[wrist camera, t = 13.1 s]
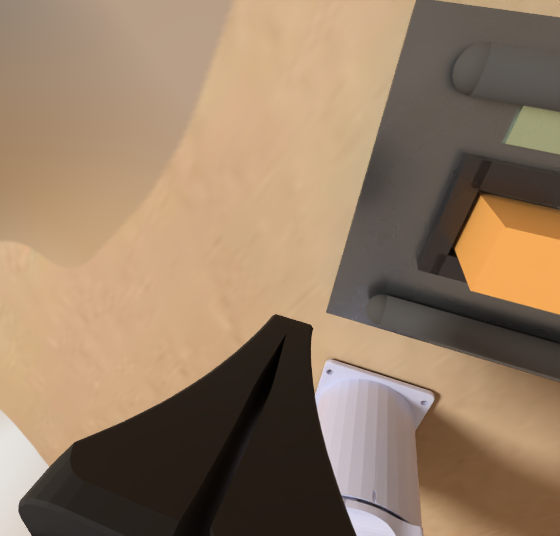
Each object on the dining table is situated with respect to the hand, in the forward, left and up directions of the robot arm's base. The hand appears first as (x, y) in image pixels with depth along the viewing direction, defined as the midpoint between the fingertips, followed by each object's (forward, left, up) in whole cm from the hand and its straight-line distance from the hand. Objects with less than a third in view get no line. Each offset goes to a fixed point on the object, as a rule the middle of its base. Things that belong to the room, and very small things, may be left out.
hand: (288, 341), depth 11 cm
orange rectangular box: (+3, -8, -9) cm, 12 cm away
